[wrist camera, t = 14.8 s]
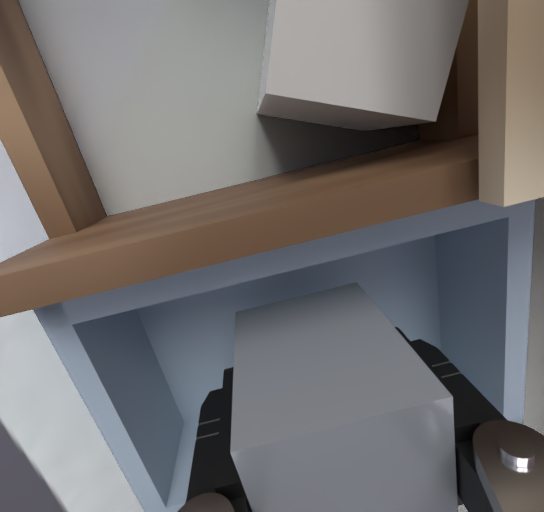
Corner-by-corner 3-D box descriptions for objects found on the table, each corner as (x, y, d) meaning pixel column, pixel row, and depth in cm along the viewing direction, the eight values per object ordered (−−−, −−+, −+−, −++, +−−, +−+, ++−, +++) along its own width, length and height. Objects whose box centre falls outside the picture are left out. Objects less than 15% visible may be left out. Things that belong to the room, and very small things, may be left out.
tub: (99, 255, 12) (32, 307, 8) (442, 171, 12) (536, 183, 8) (175, 428, 15) (152, 526, 11) (450, 359, 15) (522, 432, 11)
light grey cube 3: (272, -24, 10) (295, -154, 5) (391, 2, 10) (496, -100, 6) (256, 113, 11) (265, 93, 7) (364, 131, 11) (435, 121, 7)
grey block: (264, 406, 12) (279, 584, 7) (235, 312, 10) (230, 452, 6) (371, 379, 12) (459, 538, 7) (356, 282, 10) (452, 396, 6)
